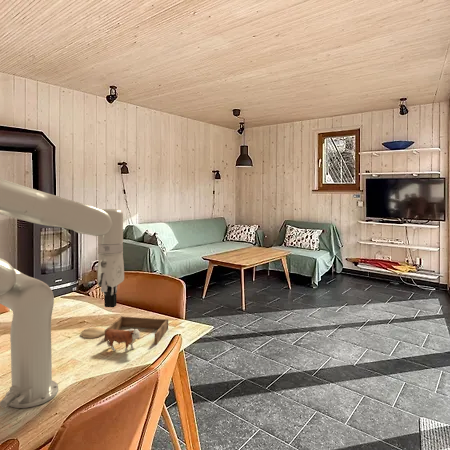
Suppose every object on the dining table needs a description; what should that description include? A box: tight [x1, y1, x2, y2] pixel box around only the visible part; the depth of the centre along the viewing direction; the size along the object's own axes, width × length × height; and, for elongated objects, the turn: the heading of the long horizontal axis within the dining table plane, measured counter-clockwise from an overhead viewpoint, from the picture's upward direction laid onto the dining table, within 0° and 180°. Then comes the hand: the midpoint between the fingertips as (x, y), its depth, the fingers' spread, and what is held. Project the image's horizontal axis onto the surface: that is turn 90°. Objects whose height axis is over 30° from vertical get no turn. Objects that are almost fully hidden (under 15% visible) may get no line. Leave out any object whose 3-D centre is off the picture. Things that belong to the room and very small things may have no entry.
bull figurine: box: [104, 328, 142, 353], centre depth 126 cm, size 4×13×8 cm, turn 78°
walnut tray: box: [104, 316, 169, 346], centre depth 140 cm, size 16×20×4 cm
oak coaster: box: [80, 326, 106, 339], centre depth 140 cm, size 9×9×1 cm
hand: (110, 306), depth 114 cm, fingers closed
